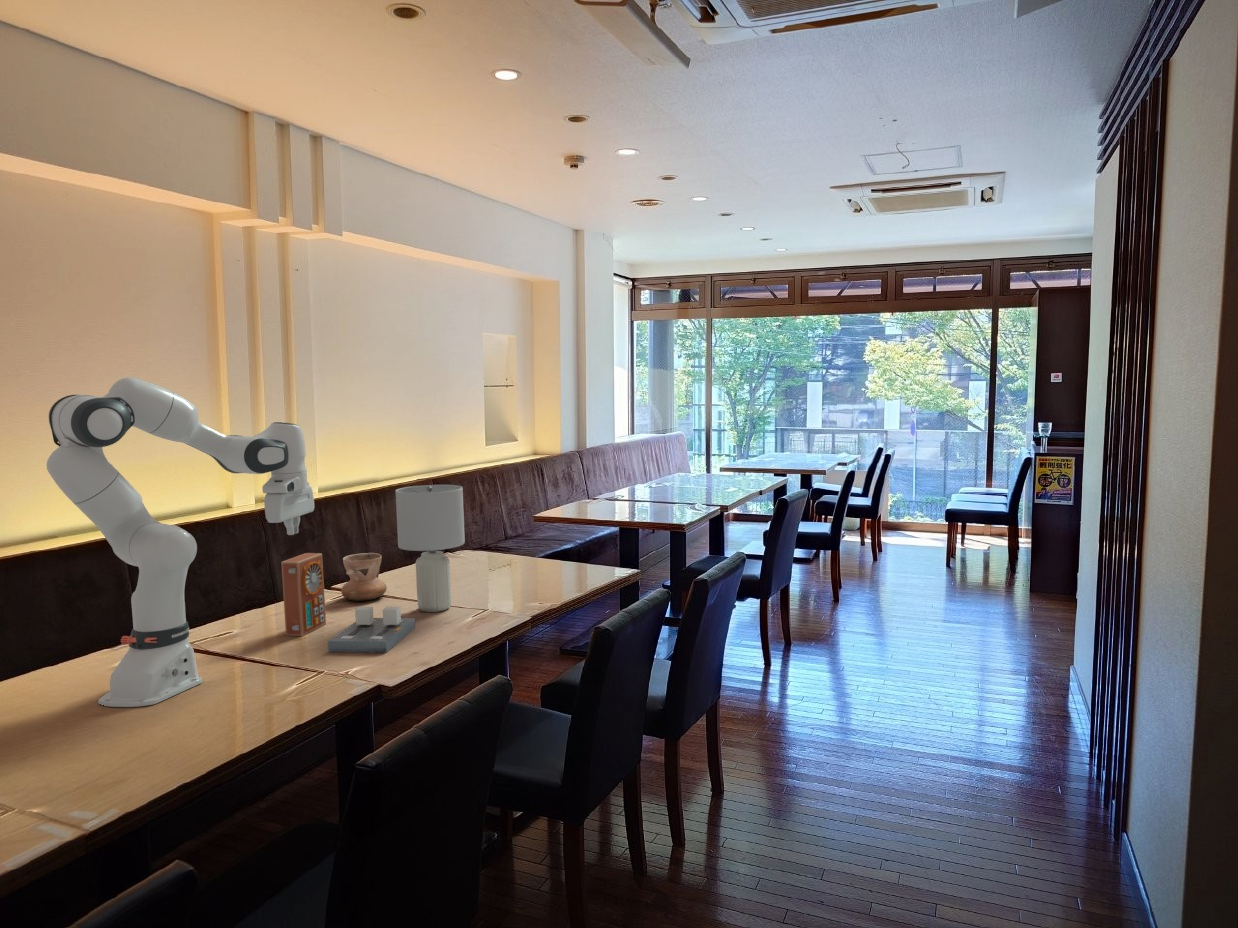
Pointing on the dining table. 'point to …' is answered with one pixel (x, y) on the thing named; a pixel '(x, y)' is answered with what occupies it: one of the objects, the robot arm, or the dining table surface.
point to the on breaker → (364, 615)
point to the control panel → (303, 594)
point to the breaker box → (371, 636)
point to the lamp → (431, 537)
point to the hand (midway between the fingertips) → (292, 534)
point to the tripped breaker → (391, 615)
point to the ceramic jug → (363, 577)
